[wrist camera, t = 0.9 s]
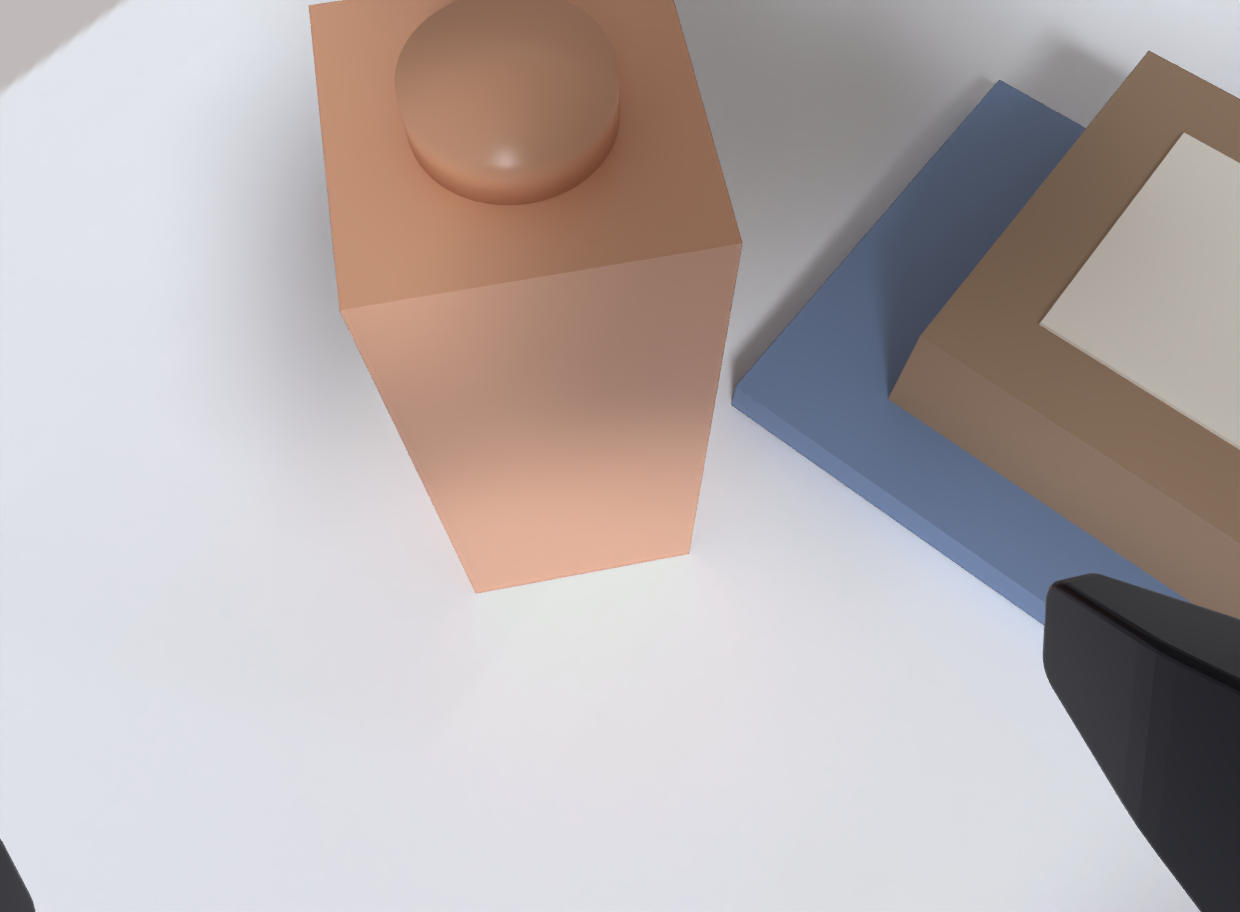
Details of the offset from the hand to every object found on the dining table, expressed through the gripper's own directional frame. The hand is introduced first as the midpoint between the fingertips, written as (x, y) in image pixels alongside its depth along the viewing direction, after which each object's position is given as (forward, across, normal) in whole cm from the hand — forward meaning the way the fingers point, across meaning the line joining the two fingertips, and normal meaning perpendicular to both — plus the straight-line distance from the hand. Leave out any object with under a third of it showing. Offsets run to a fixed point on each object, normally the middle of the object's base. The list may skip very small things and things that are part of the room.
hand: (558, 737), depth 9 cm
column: (+16, -2, +5) cm, 17 cm away
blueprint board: (+13, -17, +7) cm, 22 cm away
